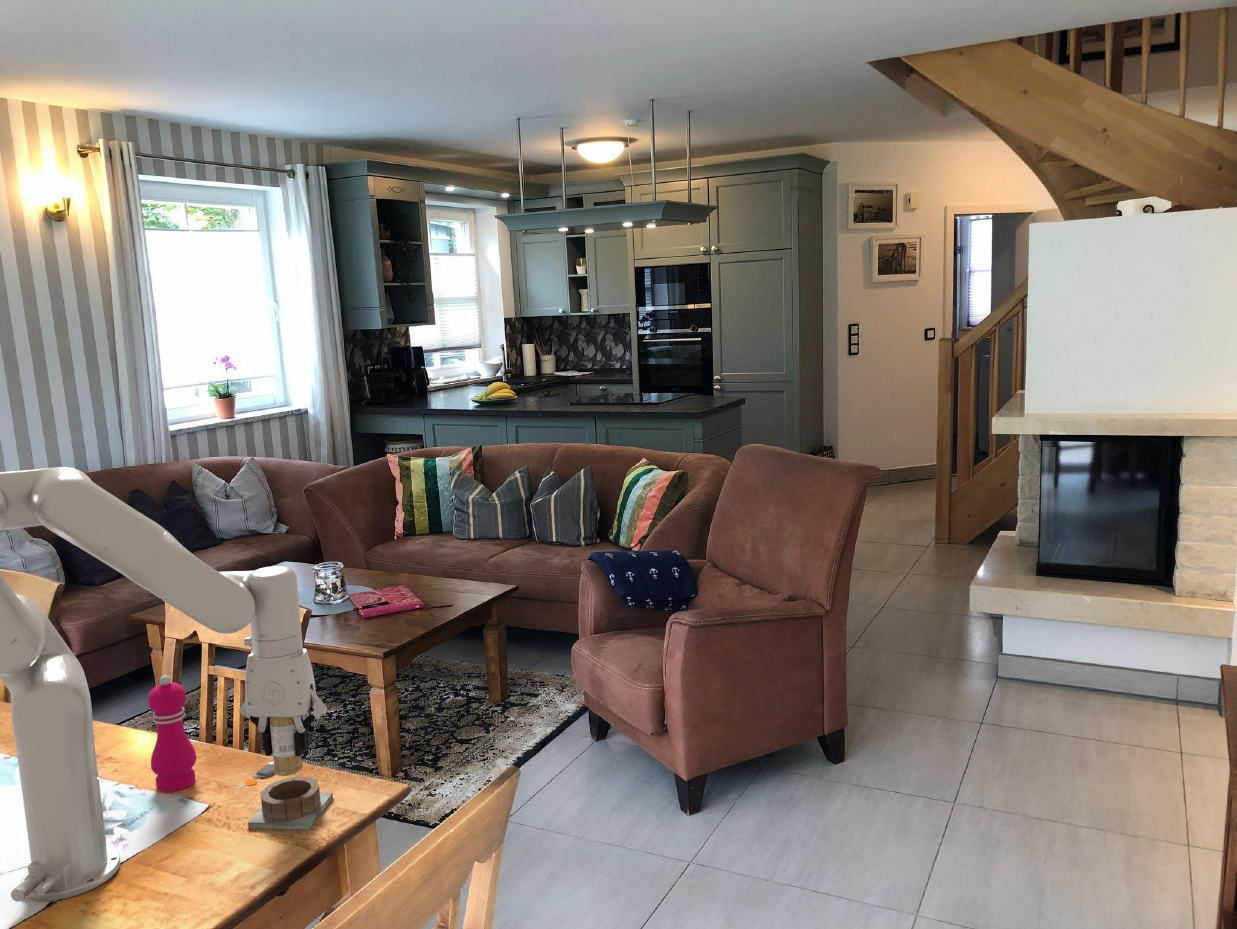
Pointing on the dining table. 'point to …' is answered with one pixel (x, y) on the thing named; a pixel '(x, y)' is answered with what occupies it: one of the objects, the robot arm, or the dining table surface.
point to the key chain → (260, 774)
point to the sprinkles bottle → (284, 746)
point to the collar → (290, 804)
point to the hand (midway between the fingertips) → (286, 751)
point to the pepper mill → (171, 738)
